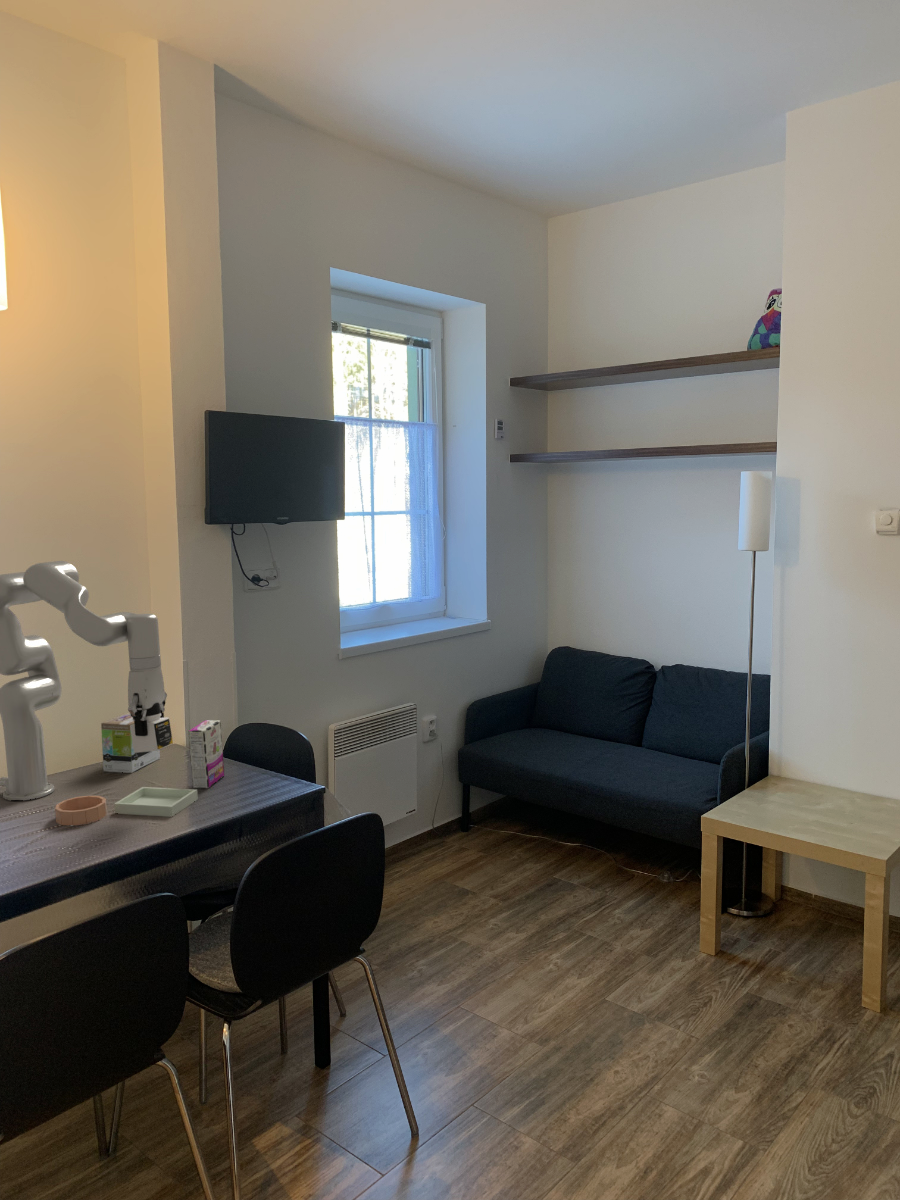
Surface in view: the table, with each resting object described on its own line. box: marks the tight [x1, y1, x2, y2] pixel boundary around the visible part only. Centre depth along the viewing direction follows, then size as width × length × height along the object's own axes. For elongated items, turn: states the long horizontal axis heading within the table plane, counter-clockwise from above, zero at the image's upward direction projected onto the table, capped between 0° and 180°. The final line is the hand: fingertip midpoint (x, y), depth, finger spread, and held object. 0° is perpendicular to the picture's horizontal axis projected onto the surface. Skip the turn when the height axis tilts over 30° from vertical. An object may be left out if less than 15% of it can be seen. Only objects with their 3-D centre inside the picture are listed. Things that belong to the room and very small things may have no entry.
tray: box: [113, 786, 199, 818], centre depth 233 cm, size 16×13×3 cm
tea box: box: [100, 711, 161, 774], centre depth 269 cm, size 15×10×15 cm, turn 167°
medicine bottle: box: [130, 702, 174, 753], centre depth 230 cm, size 7×7×12 cm
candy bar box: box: [188, 719, 226, 789], centre depth 251 cm, size 11×5×16 cm, turn 171°
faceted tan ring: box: [54, 795, 108, 826], centre depth 227 cm, size 12×12×4 cm
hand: (150, 731), depth 231 cm, fingers closed on medicine bottle, 7 cm apart
